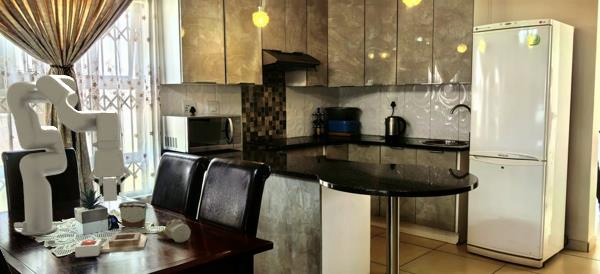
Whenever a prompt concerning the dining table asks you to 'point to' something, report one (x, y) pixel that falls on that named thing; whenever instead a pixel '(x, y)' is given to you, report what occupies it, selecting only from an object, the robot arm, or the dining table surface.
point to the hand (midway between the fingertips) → (110, 194)
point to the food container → (133, 213)
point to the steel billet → (110, 189)
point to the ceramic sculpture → (176, 231)
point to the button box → (88, 249)
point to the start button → (88, 242)
